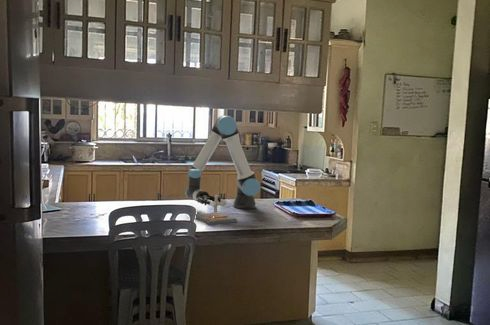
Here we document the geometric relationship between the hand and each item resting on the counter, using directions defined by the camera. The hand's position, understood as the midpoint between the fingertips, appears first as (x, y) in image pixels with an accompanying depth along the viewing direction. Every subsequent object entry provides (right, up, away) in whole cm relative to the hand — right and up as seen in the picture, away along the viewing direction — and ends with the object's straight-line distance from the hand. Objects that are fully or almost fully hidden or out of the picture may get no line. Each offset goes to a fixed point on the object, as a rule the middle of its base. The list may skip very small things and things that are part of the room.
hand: (220, 203), depth 264 cm
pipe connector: (-3, -6, +5) cm, 8 cm away
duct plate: (-3, -10, +5) cm, 12 cm away
